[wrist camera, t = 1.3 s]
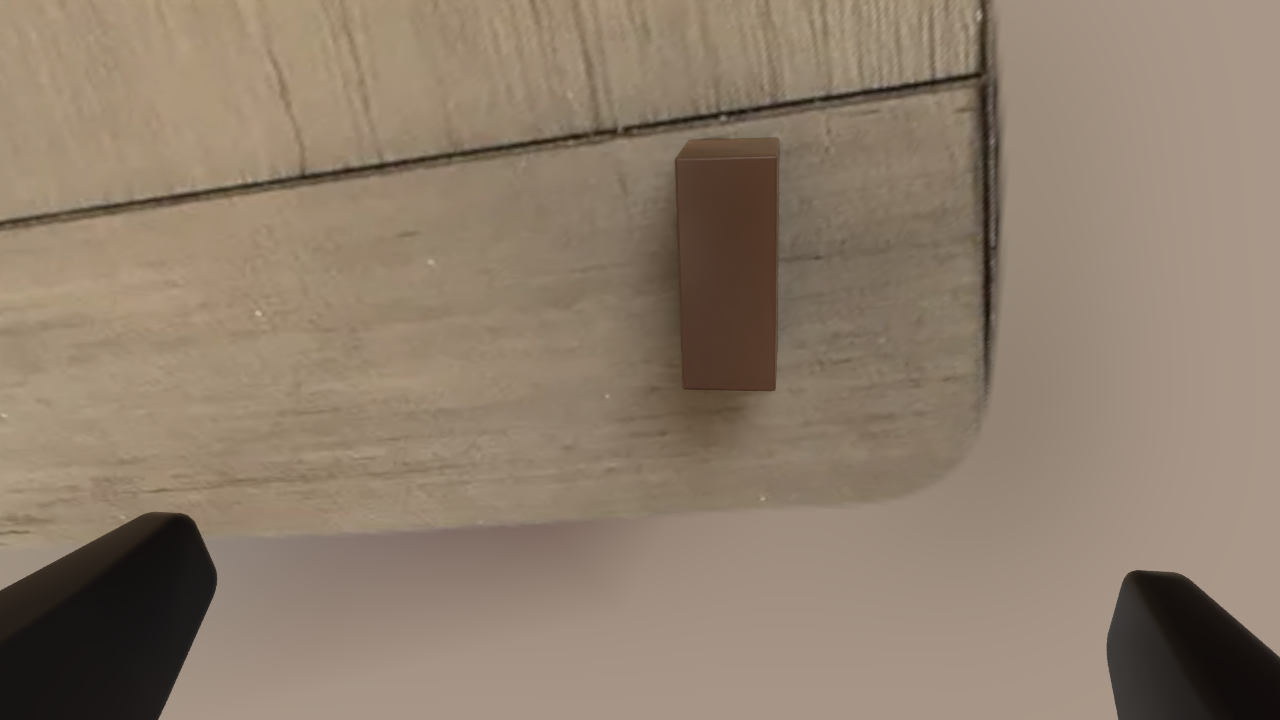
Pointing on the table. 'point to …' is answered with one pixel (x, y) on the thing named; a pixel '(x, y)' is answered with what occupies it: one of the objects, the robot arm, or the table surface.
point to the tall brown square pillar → (728, 262)
